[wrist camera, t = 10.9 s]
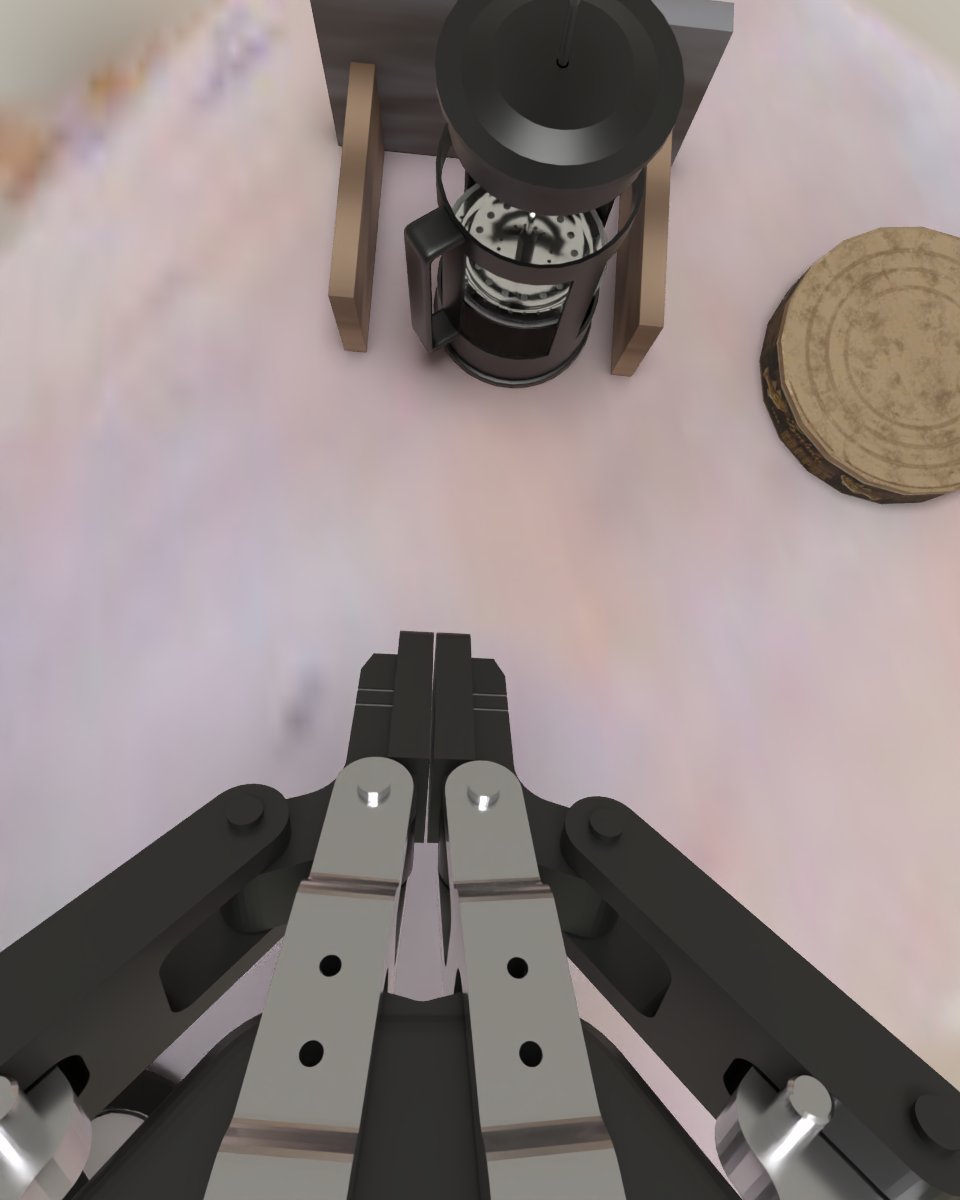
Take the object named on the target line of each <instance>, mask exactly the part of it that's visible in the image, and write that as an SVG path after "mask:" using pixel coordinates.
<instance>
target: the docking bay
mask: <svg viewBox="0 0 960 1200" xmlns="http://www.w3.org/2000/svg"><path fill="white" fill-rule="evenodd" d="M457 1H458V0H310V2H311V7H312V12H313V18H314V23H315V28H316V33H317V38H318V43H319V48H320V53H321V58H322V63H323V68H324V73H325V79H326V84H327V89H328V94H329V99H330V104H331V109H332V114H333V119H334V124H335V129H336V134H337V139H338V145H339V146H343V148H342V158H341V168H340V179H339V189H338V200H337V210H336V220H335V231H334V241H333V252H332V262H331V272H330V283H329V293H328V296H329V299H330V303H331V306H332V309H333V313H334V316H335V319H336V322H337V326H338V329H339V332H340V336H341V339H342V342H343V345H344V349H345V350H349V351H360V352H366V351H367V340H368V329H369V317H370V306H371V295H372V284H373V273H374V262H375V250H376V239H377V228H378V217H379V206H380V195H381V183H382V172H383V161H384V150H387V151H397V152H406V153H416V154H425V155H435V156H437V151H438V144H439V141H440V138H441V135H442V133H443V130H444V127H445V125H446V123H447V121H446V119H445V117H444V115H443V113H442V109H441V106H440V102H439V99H438V95H437V92H436V78H435V58H436V51H437V44H438V39H439V36H440V33H441V31H442V28H443V25H444V23H445V20H446V18H447V16H448V15H449V13H450V12H451V10H452V9H453V7H454V6H455V4H456V3H457ZM651 1H652V2H653V3H654V4H655V5H656V7H657V8H658V9H659V10H660V11H661V13H662V14H663V15H664V17H665V18H666V20H667V22H668V24H669V26H670V27H671V29H672V31H673V33H674V35H675V37H676V40H677V43H678V46H679V49H680V52H681V56H682V61H683V70H684V79H685V81H684V91H683V101H682V105H681V108H680V111H679V114H678V117H677V120H676V123H675V126H674V128H673V130H672V132H671V134H670V135H669V137H668V139H667V140H666V142H665V144H664V146H663V147H662V149H661V150H660V151H659V152H658V153H657V154H656V155H655V157H654V158H653V159H652V160H651V161H650V162H649V163H648V164H647V165H646V166H645V167H644V169H645V182H644V191H643V197H642V200H641V203H640V206H639V209H638V212H637V214H636V217H635V219H634V221H633V224H632V226H631V228H630V231H629V233H628V234H627V236H626V238H625V239H624V241H623V243H622V245H621V246H620V248H619V249H618V250H617V267H616V287H615V306H614V325H613V344H612V363H611V374H613V375H624V376H632V375H633V373H634V372H635V370H636V369H637V367H638V366H639V364H640V363H641V361H642V360H643V358H644V356H645V355H646V353H647V352H648V350H649V349H650V347H651V346H652V344H653V343H654V341H655V340H656V338H657V336H658V335H659V333H660V332H661V330H662V329H663V327H664V307H665V284H666V261H667V239H668V216H669V194H670V171H671V166H672V164H673V162H674V160H675V158H676V155H677V153H678V151H679V149H680V147H681V144H682V142H683V140H684V138H685V136H686V133H687V131H688V129H689V127H690V125H691V123H692V120H693V118H694V116H695V114H696V112H697V109H698V107H699V105H700V103H701V101H702V99H703V96H704V94H705V92H706V90H707V88H708V85H709V83H710V81H711V79H712V77H713V75H714V72H715V70H716V68H717V66H718V64H719V61H720V59H721V57H722V55H723V53H724V50H725V48H726V46H727V44H728V42H729V40H730V37H731V35H732V33H733V19H734V3H729V2H721V1H712V0H651ZM446 157H454V158H458V156H457V154H456V152H455V150H454V147H453V144H452V145H451V147H450V149H449V151H448V153H447V156H446ZM632 198H633V193H632V184H631V185H630V186H629V187H628V188H627V189H626V190H625V191H624V192H623V193H621V194H620V210H619V229H618V233H619V232H620V231H621V230H622V228H623V227H624V226H625V224H626V223H627V221H628V219H629V217H630V214H631V207H632Z"/></svg>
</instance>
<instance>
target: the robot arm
mask: <svg viewBox="0 0 960 1200" xmlns="http://www.w3.org/2000/svg"><path fill="white" fill-rule="evenodd" d="M433 643H434V632H414V631H400V637H399V647H398V655H397V654H376V653H374V654H373V655H372V656H371V658H370V659H369V660H368V661H367V662H366V664H365V665H364V666H363V667H362V669H361V673H360V679H359V686H358V692H357V698H356V706H355V710H354V717H353V723H352V729H351V735H350V742H349V748H348V754H347V760H346V764H345V766H344V768H343V770H342V771H341V772H340V773H339V775H338V776H337V778H336V779H335V780H334V781H333V782H332V783H330V784H329V785H328V786H326V787H324V788H322V789H320V790H318V791H316V792H313V793H309V794H306V795H302V796H298V797H293V798H289V799H285V798H284V796H283V795H282V794H281V793H280V792H279V791H277V790H275V789H274V788H272V787H269V786H266V785H261V784H246V785H240V786H237V787H234V788H231V789H229V790H227V791H225V792H223V793H221V794H220V795H218V796H217V797H216V798H214V799H213V800H211V801H210V802H209V803H207V804H206V805H204V806H203V807H202V808H200V809H199V810H198V811H196V812H195V813H193V814H192V815H191V816H189V817H188V818H186V819H185V820H184V821H182V822H181V823H179V824H178V825H177V826H175V827H174V828H173V829H171V830H170V831H168V832H167V833H166V834H164V835H163V836H161V837H160V838H159V839H157V840H156V841H154V842H153V843H152V844H150V845H149V846H148V847H146V848H145V849H143V850H142V851H141V852H139V853H138V854H136V855H135V856H134V857H132V858H131V859H130V860H128V861H127V862H125V863H124V864H123V865H121V866H120V867H118V868H117V869H116V870H114V871H113V872H111V873H110V874H109V875H107V876H106V877H105V878H103V879H102V880H100V881H99V882H98V883H96V884H95V885H93V886H92V887H91V888H89V889H88V890H87V891H85V892H84V893H82V894H81V895H80V896H78V897H77V898H75V899H74V900H73V901H71V902H70V903H68V904H67V905H66V906H64V907H63V908H62V909H60V910H59V911H57V912H56V913H55V914H53V915H52V916H50V917H49V918H48V919H46V920H45V921H43V922H42V923H41V924H39V925H38V926H37V927H35V928H34V929H32V930H31V931H30V932H28V933H27V934H25V935H24V936H23V937H21V938H20V939H19V940H17V941H16V942H14V943H13V944H12V945H10V946H9V947H7V948H6V949H5V950H3V951H2V952H0V1200H62V1199H63V1198H64V1197H65V1195H66V1194H67V1193H68V1192H69V1190H70V1189H71V1188H72V1187H73V1185H74V1184H75V1182H76V1181H77V1179H78V1178H79V1176H80V1174H81V1172H82V1170H83V1168H84V1166H85V1164H86V1161H87V1159H88V1156H89V1152H90V1148H91V1142H92V1128H91V1123H90V1122H91V1121H92V1120H93V1119H94V1118H95V1117H96V1116H97V1115H98V1114H99V1113H100V1112H101V1111H102V1110H103V1109H104V1108H105V1107H106V1106H107V1105H108V1104H109V1103H110V1102H111V1101H112V1100H114V1099H115V1098H116V1097H117V1096H118V1095H119V1094H120V1093H121V1092H122V1091H123V1090H124V1089H125V1088H126V1087H127V1086H128V1085H129V1084H130V1083H131V1082H132V1081H133V1080H134V1079H135V1078H136V1077H137V1076H138V1075H140V1074H141V1073H142V1072H143V1071H144V1070H145V1069H146V1068H147V1067H148V1066H149V1065H150V1064H151V1063H152V1062H153V1061H154V1060H155V1059H156V1058H157V1057H158V1056H159V1055H160V1054H161V1053H162V1052H163V1051H164V1050H166V1049H167V1048H168V1047H169V1046H170V1045H171V1044H172V1043H173V1042H174V1041H175V1040H176V1039H177V1038H178V1037H179V1036H180V1035H181V1034H182V1033H183V1032H184V1031H185V1030H186V1029H187V1028H188V1027H189V1026H190V1025H192V1024H193V1023H194V1022H195V1021H196V1020H197V1019H198V1018H199V1017H200V1016H201V1015H202V1014H203V1013H204V1012H205V1011H206V1010H207V1009H208V1008H209V1007H210V1006H211V1005H212V1004H213V1003H214V1002H215V1001H217V1000H218V999H219V998H220V997H221V996H222V995H223V994H224V993H225V992H226V991H227V990H228V989H229V988H230V987H231V986H232V985H233V984H234V983H235V982H236V981H237V980H238V979H239V978H240V977H241V976H243V975H244V974H245V973H246V972H247V971H248V970H249V969H250V968H251V967H252V966H253V965H254V964H255V963H256V962H257V961H258V960H259V959H260V958H261V957H262V956H263V955H264V954H265V953H266V952H267V951H269V950H270V949H271V948H272V947H273V946H274V945H275V944H276V943H277V942H278V941H279V940H280V939H281V938H282V937H283V936H284V939H283V943H282V946H281V950H280V953H279V957H278V960H277V964H276V967H275V971H274V974H273V978H272V982H271V985H270V989H269V992H268V996H267V999H266V1003H265V1006H264V1010H263V1013H261V1014H259V1015H257V1016H255V1017H253V1018H252V1019H250V1020H248V1021H246V1022H245V1023H243V1024H242V1025H240V1026H239V1027H237V1028H236V1029H235V1030H233V1031H232V1032H230V1033H229V1034H228V1035H227V1036H226V1037H224V1038H223V1039H222V1040H221V1041H220V1042H219V1043H217V1044H216V1045H215V1046H214V1047H213V1048H212V1049H211V1050H210V1051H209V1052H208V1053H207V1054H206V1056H205V1057H204V1058H203V1059H202V1060H201V1061H200V1062H199V1063H198V1064H197V1065H196V1066H195V1067H194V1068H193V1069H192V1071H191V1072H190V1073H189V1074H188V1075H187V1076H186V1077H185V1078H184V1079H183V1080H182V1081H181V1082H180V1083H179V1084H178V1086H177V1087H176V1088H175V1089H174V1090H173V1091H172V1092H171V1093H170V1094H169V1095H168V1096H167V1097H166V1098H165V1099H164V1101H163V1102H162V1103H161V1104H160V1105H159V1106H158V1107H157V1108H156V1109H155V1110H154V1111H153V1112H152V1113H151V1114H150V1116H149V1117H148V1118H147V1119H146V1120H145V1121H144V1122H143V1123H142V1124H141V1125H140V1126H139V1127H138V1128H137V1130H136V1131H135V1132H134V1133H133V1134H132V1135H131V1136H130V1137H129V1138H128V1139H127V1140H126V1141H125V1142H124V1143H123V1145H122V1146H121V1147H120V1148H119V1149H118V1150H117V1151H116V1152H115V1153H114V1154H113V1155H112V1156H111V1157H110V1158H109V1160H108V1161H107V1162H106V1163H105V1164H104V1165H103V1166H102V1167H101V1168H100V1169H99V1170H98V1171H97V1172H96V1173H95V1175H94V1176H93V1177H92V1178H91V1179H90V1180H89V1181H88V1182H87V1183H86V1184H85V1185H84V1186H83V1187H82V1188H81V1190H80V1191H79V1192H78V1193H77V1194H76V1195H75V1196H74V1197H73V1198H72V1199H71V1200H742V1199H743V1200H960V1092H959V1091H958V1090H956V1088H954V1087H953V1086H952V1085H951V1084H950V1083H949V1082H948V1081H946V1080H945V1079H944V1078H943V1077H942V1076H941V1075H939V1074H938V1073H937V1072H936V1071H935V1070H934V1069H932V1068H931V1067H930V1066H929V1065H928V1064H927V1063H926V1062H924V1061H923V1060H922V1059H921V1058H920V1057H919V1056H917V1055H916V1054H915V1053H914V1052H913V1051H912V1050H910V1049H909V1048H908V1047H907V1046H906V1045H905V1044H903V1043H902V1042H901V1041H900V1040H899V1039H898V1038H896V1037H895V1036H894V1035H893V1034H892V1033H891V1032H889V1031H888V1030H887V1029H886V1028H885V1027H884V1026H882V1025H881V1024H880V1023H879V1022H878V1021H877V1020H875V1019H874V1018H873V1017H872V1016H871V1015H870V1014H868V1013H867V1012H866V1011H865V1010H864V1009H863V1008H861V1007H860V1006H859V1005H858V1004H857V1003H856V1002H854V1001H853V1000H852V999H851V998H850V997H849V996H848V995H846V994H845V993H844V992H843V991H842V990H841V989H839V988H838V987H837V986H836V985H835V984H834V983H832V982H831V981H830V980H829V979H828V978H827V977H825V976H824V975H823V974H822V973H821V972H820V971H818V970H817V969H816V968H815V967H814V966H813V965H811V964H810V963H809V962H808V961H807V960H806V959H804V958H803V957H802V956H801V955H800V954H799V953H797V952H796V951H795V950H794V949H793V948H792V947H790V946H789V945H788V944H787V943H786V942H785V941H783V940H782V939H781V938H780V937H779V936H778V935H776V934H775V933H774V932H773V931H772V930H771V929H770V928H768V927H767V926H766V925H765V924H764V923H763V922H761V921H760V920H759V919H758V918H757V917H756V916H754V915H753V914H752V913H751V912H750V911H749V910H747V909H746V908H745V907H744V906H743V905H742V904H740V903H739V902H738V901H737V900H736V899H735V898H733V897H732V896H731V895H730V894H729V893H728V892H726V891H725V890H724V889H723V888H722V887H721V886H719V885H718V884H717V883H716V882H715V881H714V880H712V879H711V878H710V877H709V876H708V875H707V874H705V873H704V872H703V871H702V870H701V869H700V868H698V867H697V866H696V865H695V864H694V863H693V862H692V861H690V860H689V859H688V858H687V857H686V856H685V855H683V854H682V853H681V852H680V851H679V850H678V849H676V848H675V847H674V846H673V845H672V844H671V843H669V842H668V841H667V840H666V839H665V838H664V837H662V836H661V835H660V834H659V833H658V832H657V831H655V830H654V829H653V828H652V827H651V826H650V825H648V824H647V823H646V822H645V821H644V820H643V819H641V818H640V817H639V816H638V815H637V814H636V813H634V812H633V811H632V810H631V809H630V808H628V807H627V806H626V805H624V804H622V803H620V802H619V801H616V800H614V799H610V798H607V797H600V796H596V797H587V798H584V799H581V800H579V801H577V802H576V803H575V804H573V805H572V806H571V808H568V807H565V806H562V805H558V804H555V803H552V802H549V801H546V800H544V799H541V798H540V797H538V796H536V795H534V794H533V793H531V792H530V791H529V790H528V789H527V788H525V787H524V785H523V784H522V783H521V782H520V780H519V779H518V777H517V775H516V772H515V769H514V763H513V753H512V743H511V733H510V723H509V713H508V703H507V697H506V695H507V692H506V682H505V675H504V674H503V672H502V671H501V669H500V668H499V666H498V665H497V663H496V662H495V660H494V659H483V658H471V637H470V634H457V633H437V634H436V647H435V661H434V675H433ZM432 675H433V690H432ZM431 707H432V709H431ZM429 764H430V771H429ZM428 778H429V803H428V835H427V843H438V868H437V879H436V885H437V901H438V916H439V931H440V946H441V962H442V981H443V995H442V997H441V998H437V999H433V1000H430V1001H415V1000H412V999H409V998H405V997H402V996H398V995H395V994H393V992H394V983H395V974H396V967H397V960H398V952H399V945H400V938H401V931H402V923H403V916H404V909H405V902H406V894H407V887H408V877H409V875H410V873H411V870H412V866H413V853H414V842H415V843H424V832H425V819H426V805H427V791H428ZM566 955H567V956H568V957H569V959H570V960H571V961H572V962H573V963H574V964H575V965H576V966H577V967H578V968H579V970H580V971H581V972H582V973H583V974H584V975H585V976H586V977H587V978H588V979H589V981H590V982H591V983H592V984H593V985H594V986H595V987H596V988H597V989H598V990H599V992H600V993H601V994H602V995H603V996H604V997H605V998H606V999H607V1000H608V1001H609V1003H610V1004H611V1005H612V1006H613V1007H614V1008H615V1009H616V1010H617V1011H618V1012H619V1014H620V1015H621V1016H622V1017H623V1018H624V1019H625V1020H626V1021H627V1022H628V1023H629V1025H630V1026H631V1027H632V1028H633V1029H634V1030H635V1031H636V1032H637V1033H638V1034H639V1036H640V1037H641V1038H642V1039H643V1040H644V1041H645V1042H646V1043H647V1044H648V1045H649V1047H650V1048H651V1049H652V1050H653V1051H654V1052H655V1053H656V1054H657V1055H658V1056H659V1058H660V1059H661V1060H662V1061H663V1062H664V1063H665V1064H666V1065H667V1066H668V1067H669V1069H670V1070H671V1071H672V1072H673V1073H674V1074H675V1075H676V1076H677V1077H678V1078H679V1080H680V1081H681V1082H682V1083H683V1084H684V1085H685V1086H686V1087H687V1088H688V1089H689V1091H690V1092H691V1093H692V1094H693V1095H694V1096H695V1097H696V1098H697V1099H698V1100H699V1102H700V1103H701V1104H702V1105H703V1106H704V1107H705V1108H706V1109H707V1110H708V1111H709V1113H710V1114H711V1115H712V1116H713V1117H714V1118H715V1119H716V1125H715V1143H716V1149H717V1153H718V1157H719V1160H720V1162H721V1165H722V1167H723V1169H724V1171H725V1173H726V1175H727V1176H728V1178H729V1179H730V1181H731V1182H732V1184H733V1185H734V1187H735V1188H736V1189H737V1191H738V1192H739V1194H740V1195H741V1197H742V1199H741V1198H740V1196H739V1195H738V1194H737V1193H736V1192H735V1190H734V1189H733V1188H732V1187H731V1185H730V1184H729V1183H728V1182H727V1181H726V1179H725V1178H724V1177H723V1176H722V1174H721V1173H720V1172H719V1171H718V1170H717V1168H716V1167H715V1166H714V1165H713V1164H712V1162H711V1161H710V1160H709V1159H708V1157H707V1156H706V1155H705V1154H704V1153H703V1151H702V1150H701V1149H700V1148H699V1147H698V1145H697V1144H696V1143H695V1142H694V1140H693V1139H692V1138H691V1137H690V1136H689V1134H688V1133H687V1132H686V1131H685V1130H684V1128H683V1127H682V1126H681V1125H680V1123H679V1122H678V1121H677V1120H676V1119H675V1117H674V1116H673V1115H672V1114H671V1113H670V1111H669V1110H668V1109H667V1108H666V1106H665V1105H664V1104H663V1103H662V1102H661V1100H660V1099H659V1098H658V1097H657V1096H656V1094H655V1093H654V1092H653V1091H652V1089H651V1088H650V1087H649V1086H648V1085H647V1083H646V1082H645V1081H644V1080H643V1078H642V1077H641V1076H640V1075H639V1074H638V1072H637V1071H636V1070H635V1069H634V1068H633V1066H632V1065H631V1064H630V1063H629V1061H628V1060H627V1059H626V1058H625V1057H624V1055H623V1054H622V1053H621V1052H620V1051H619V1050H618V1049H617V1047H616V1046H615V1045H614V1044H613V1043H612V1042H611V1041H610V1040H609V1039H608V1038H606V1037H605V1036H604V1035H603V1034H602V1033H601V1032H600V1031H598V1030H597V1029H596V1028H594V1027H593V1026H592V1025H590V1024H589V1023H588V1022H586V1021H584V1020H583V1019H581V1018H580V1017H579V1013H578V1008H577V1003H576V999H575V994H574V989H573V985H572V980H571V975H570V971H569V966H568V961H567V956H566Z"/></svg>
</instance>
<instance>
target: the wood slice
mask: <svg viewBox="0 0 960 1200" xmlns="http://www.w3.org/2000/svg"><path fill="white" fill-rule="evenodd" d="M760 371H761V382H762V392H763V401H764V403H765V406H766V408H767V410H768V413H769V415H770V417H771V420H772V422H773V424H774V427H775V429H776V431H777V434H778V436H779V438H780V440H781V441H782V442H783V443H784V444H785V445H786V447H787V448H788V449H789V450H790V451H791V453H792V454H793V455H794V456H795V457H796V458H797V460H798V461H799V462H800V463H801V464H802V466H803V467H804V468H805V469H806V470H807V471H808V472H810V473H811V474H813V475H815V476H816V477H818V478H819V479H821V480H822V481H824V482H825V483H827V484H829V485H830V486H832V487H833V488H835V489H836V490H838V491H839V492H841V493H844V494H847V495H851V496H854V497H858V498H862V499H865V500H869V501H872V502H876V503H880V504H893V503H916V502H923V501H926V500H929V499H932V498H935V497H938V496H941V495H944V494H947V493H950V492H952V491H955V490H958V489H960V238H959V237H955V236H952V235H948V234H945V233H942V232H938V231H935V230H931V229H928V228H924V227H887V228H878V229H875V230H873V231H870V232H867V233H864V234H861V235H858V236H855V237H853V238H850V239H847V240H844V241H842V242H841V243H840V244H838V245H837V246H836V247H835V248H833V249H832V250H831V251H829V252H828V253H827V254H826V255H824V256H823V257H822V258H821V259H819V260H818V261H817V262H816V263H814V264H813V265H812V266H811V267H810V268H809V269H808V270H807V271H806V272H805V273H804V275H803V276H802V277H801V278H800V279H799V280H798V281H797V282H796V283H795V284H794V285H793V286H792V288H791V289H790V290H789V291H788V292H787V294H786V295H785V297H784V299H783V300H782V302H781V303H780V305H779V307H778V308H777V310H776V311H775V313H774V315H773V316H772V318H771V319H770V321H769V323H768V326H767V330H766V335H765V339H764V343H763V348H762V352H761V356H760Z"/></svg>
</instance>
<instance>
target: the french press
mask: <svg viewBox="0 0 960 1200" xmlns="http://www.w3.org/2000/svg"><path fill="white" fill-rule="evenodd" d="M435 78H436V92H437V95H438V99H439V102H440V106H441V109H442V113H443V115H444V117H445V119H446V121H447V123H446V125H445V127H444V130H443V133H442V135H441V138H440V141H439V144H438V151H437V158H436V188H437V202H438V206H439V208H437V209H435V210H433V211H431V212H430V213H428V214H426V215H424V216H422V217H420V218H419V219H417V220H415V221H413V222H412V223H410V224H409V225H407V226H406V228H405V229H404V238H405V250H406V262H407V273H408V285H409V296H410V308H411V319H412V326H413V329H414V330H415V332H416V334H417V335H418V337H419V338H420V340H421V341H422V343H423V344H424V346H425V348H426V349H427V350H428V351H429V352H433V351H435V350H437V349H439V348H441V347H442V346H444V347H445V349H446V351H447V352H448V353H449V355H450V356H451V357H452V358H453V360H454V361H455V362H456V363H457V364H458V365H459V366H460V367H462V368H463V369H464V370H465V371H466V372H467V373H469V374H471V375H473V376H474V377H476V378H478V379H480V380H481V381H484V382H487V383H490V384H493V385H496V386H503V387H510V388H513V387H528V386H532V385H536V384H540V383H543V382H545V381H547V380H549V379H552V378H554V377H556V376H557V375H558V374H560V373H561V372H562V371H564V370H565V369H567V368H568V367H569V366H570V365H571V363H572V362H573V361H574V360H575V359H576V358H577V357H578V355H579V353H580V352H581V350H582V348H583V346H584V345H585V343H586V340H587V337H588V334H589V331H590V328H591V320H592V317H593V314H594V311H595V308H596V305H597V302H598V296H599V287H600V284H601V283H602V280H603V277H604V274H605V271H606V267H607V261H608V260H609V259H610V258H611V257H612V256H613V254H614V253H615V252H616V251H617V250H618V249H619V248H620V246H621V245H622V243H623V241H624V239H625V238H626V236H627V234H628V233H629V231H630V228H631V226H632V224H633V221H634V219H635V217H636V214H637V212H638V209H639V206H640V203H641V200H642V197H643V191H644V182H645V169H644V167H645V166H646V165H647V164H648V163H649V162H650V161H651V160H652V159H653V158H654V157H655V155H656V154H657V153H658V152H659V151H660V150H661V149H662V147H663V146H664V144H665V142H666V140H667V139H668V137H669V135H670V134H671V132H672V130H673V128H674V126H675V123H676V120H677V117H678V114H679V111H680V108H681V105H682V101H683V91H684V81H685V79H684V70H683V61H682V56H681V52H680V49H679V46H678V43H677V40H676V37H675V35H674V33H673V31H672V29H671V27H670V26H669V24H668V22H667V20H666V18H665V17H664V15H663V14H662V13H661V11H660V10H659V9H658V8H657V7H656V5H655V4H654V3H653V2H652V1H651V0H458V1H457V3H456V4H455V6H454V7H453V9H452V10H451V12H450V13H449V15H448V16H447V18H446V20H445V23H444V25H443V28H442V31H441V33H440V36H439V39H438V44H437V51H436V58H435ZM452 144H453V147H454V150H455V152H456V154H457V156H458V158H459V160H460V161H461V163H462V165H463V167H464V168H465V190H464V194H463V195H462V196H461V197H460V198H459V199H458V200H457V202H456V204H455V205H454V207H453V209H452V208H451V207H450V205H449V203H448V201H447V198H446V195H445V191H444V188H443V184H442V180H441V175H442V168H443V164H444V162H445V159H446V156H447V153H448V151H449V149H450V147H451V145H452ZM631 184H632V193H633V198H632V207H631V214H630V217H629V219H628V221H627V223H626V224H625V226H624V227H623V228H622V230H621V231H620V232H619V233H618V234H617V235H616V236H615V237H614V238H613V239H612V240H611V241H610V242H609V243H607V237H606V234H605V230H604V227H605V225H606V222H607V219H608V216H609V214H610V211H611V208H612V206H613V203H614V200H615V198H616V197H617V196H619V195H620V194H621V193H623V192H624V191H625V190H626V189H627V188H628V187H629V186H630V185H631ZM440 255H442V256H441V259H440V261H439V268H438V275H437V288H436V292H435V299H434V314H432V290H431V263H432V261H433V260H434V259H435V258H437V257H439V256H440ZM464 302H465V303H466V304H467V305H468V306H469V307H470V308H471V309H472V310H474V311H475V312H476V313H478V314H479V315H481V316H483V317H484V318H486V319H488V320H490V321H492V322H495V323H497V324H500V325H503V326H506V327H511V328H518V329H540V328H546V327H551V326H554V325H556V328H555V331H554V334H553V337H552V340H551V343H550V346H549V349H548V352H547V353H543V354H539V355H535V356H521V357H516V356H509V355H502V354H499V353H496V352H493V351H491V350H488V349H486V348H484V347H482V346H480V345H479V344H477V343H475V342H474V341H472V340H471V339H470V338H469V337H468V336H467V335H465V334H464V333H463V332H462V325H463V308H464Z"/></svg>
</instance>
